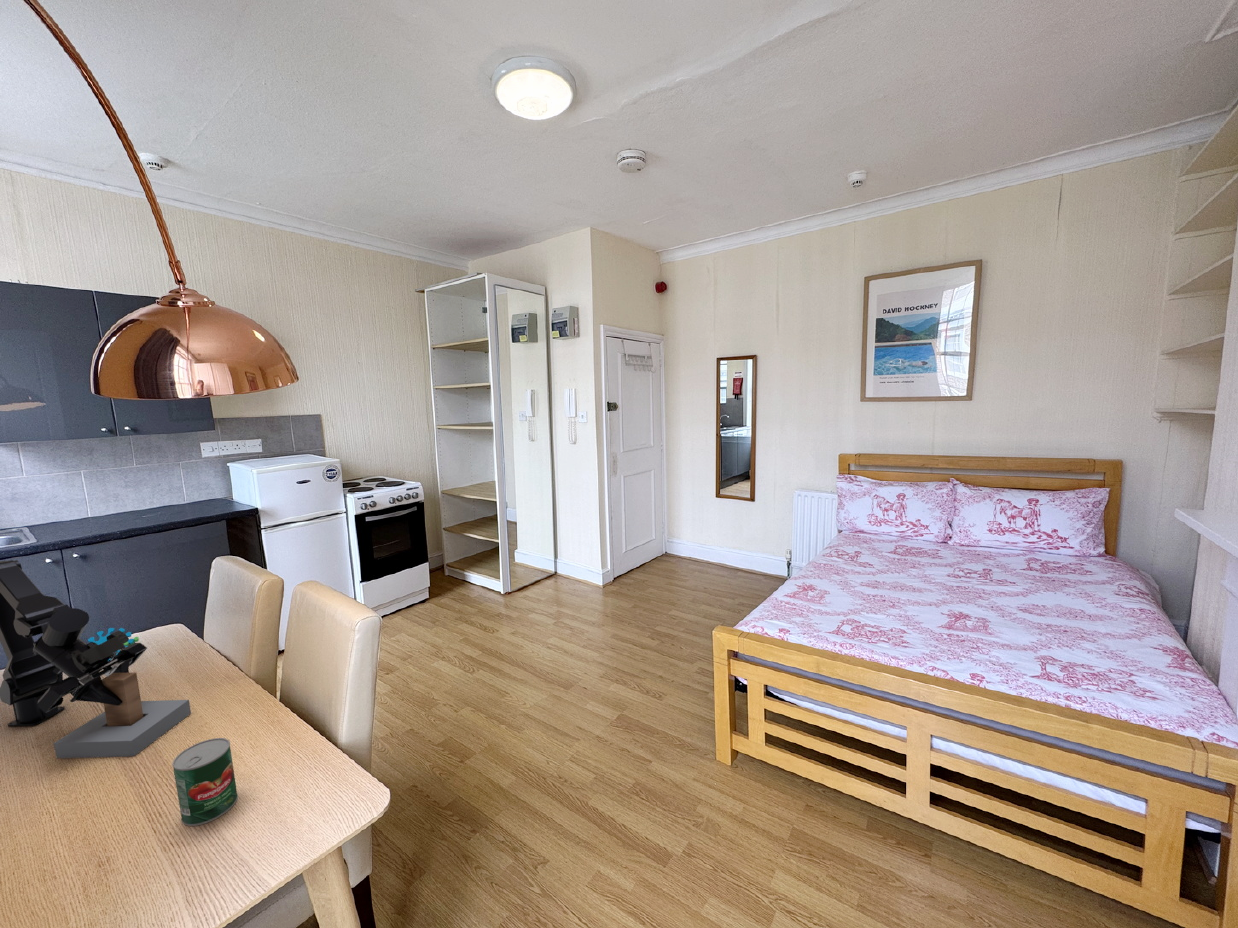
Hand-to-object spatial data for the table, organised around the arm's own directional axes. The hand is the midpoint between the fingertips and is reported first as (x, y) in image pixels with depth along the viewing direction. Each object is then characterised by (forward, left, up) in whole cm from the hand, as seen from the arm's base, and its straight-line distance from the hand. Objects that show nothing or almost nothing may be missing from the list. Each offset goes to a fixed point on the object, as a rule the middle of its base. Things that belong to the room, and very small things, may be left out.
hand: (128, 698), depth 109 cm
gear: (-40, +36, -9) cm, 54 cm away
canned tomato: (+34, -21, -9) cm, 41 cm away
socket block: (-1, 0, -8) cm, 9 cm away
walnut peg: (-1, 0, -7) cm, 7 cm away
